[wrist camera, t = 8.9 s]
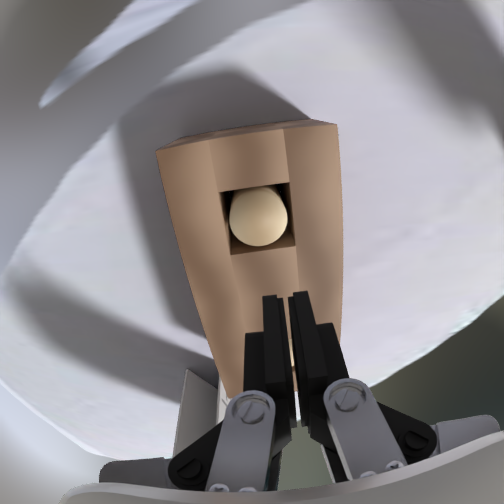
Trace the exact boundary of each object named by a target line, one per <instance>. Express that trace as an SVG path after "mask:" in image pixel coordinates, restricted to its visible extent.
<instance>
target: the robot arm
mask: <svg viewBox="0 0 504 504" xmlns="http://www.w3.org/2000/svg"><path fill="white" fill-rule="evenodd" d="M262 305H263V331H260V332H251V333H245V346H244V377H243V392H242V393H239V394H238V395H236V396H235V397H233V398H232V400H231V401H230V402H229V404H228V406H227V408H226V412H225V416H224V419H223V420H222V421H221V422H220V423H218V424H217V425H216V426H215V427H213V428H212V429H211V430H209V431H208V432H207V433H205V434H204V435H203V436H202V437H200V438H199V439H198V440H196V441H195V442H193V443H192V444H191V445H189V446H188V447H187V448H185V449H184V450H182V451H181V452H180V453H178V454H177V455H176V456H175V457H174V458H170V459H165V458H164V457H160V458H151V459H139V460H125V461H113V462H109V463H107V464H106V465H104V466H103V468H102V469H101V471H100V475H99V483H92V484H86V485H81V486H78V487H75V488H73V489H71V490H69V491H68V492H67V493H66V494H65V495H64V496H63V497H62V499H61V500H60V502H59V504H504V431H500V428H499V425H498V422H497V421H496V420H495V419H494V418H493V417H491V416H489V415H481V416H475V417H470V418H465V419H459V420H453V421H445V422H438V423H437V424H436V425H433V426H429V425H427V424H426V423H424V422H421V421H419V420H417V419H414V418H412V417H410V416H407V415H405V414H403V413H401V412H398V411H396V410H394V409H392V408H389V407H387V406H385V405H383V404H381V403H379V402H377V401H376V400H375V398H374V396H373V394H372V392H371V391H370V389H369V388H368V386H367V385H366V384H365V383H363V382H362V381H360V380H357V379H352V378H349V375H348V371H347V368H346V365H345V361H344V358H343V354H342V351H341V347H340V344H339V341H338V337H337V334H336V331H335V328H334V325H333V323H332V322H330V323H323V324H316V322H315V317H314V313H313V309H312V305H311V302H310V298H309V294H308V291H307V290H306V291H299V292H293V296H291V297H288V307H289V317H290V329H291V340H292V351H293V359H294V367H295V375H296V383H297V391H298V399H299V407H300V416H301V424H302V427H304V426H308V433H309V434H310V437H311V438H312V439H314V440H316V441H317V442H319V443H320V445H321V449H322V451H323V455H324V458H325V461H326V464H327V467H328V470H329V473H330V476H331V479H332V482H333V484H329V485H323V486H317V487H310V488H301V489H292V490H282V491H278V484H279V475H280V469H281V460H282V453H283V448H284V447H285V446H286V445H287V444H288V443H289V442H290V441H291V440H292V439H291V428H295V427H297V421H296V407H295V393H294V381H293V372H292V363H291V355H290V347H289V339H288V331H287V324H286V316H285V309H284V301H283V298H277V294H275V295H267V296H262Z"/></svg>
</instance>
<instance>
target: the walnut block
mask: <svg viewBox="0 0 504 504" xmlns="http://www.w3.org/2000/svg"><path fill="white" fill-rule="evenodd" d="M155 152H156V156H157V161H158V165H159V170H160V174H161V179H162V183H163V187H164V191H165V196H166V200H167V204H168V208H169V212H170V216H171V219H172V223H173V227H174V231H175V235H176V238H177V242H178V246H179V249H180V253H181V257H182V260H183V264H184V267H185V270H186V274H187V277H188V281H189V284H190V287H191V291H192V294H193V297H194V300H195V304H196V307H197V310H198V313H199V316H200V319H201V323H202V326H203V329H204V332H205V335H206V338H207V341H208V344H209V347H210V350H211V352H212V355H213V358H214V361H215V364H216V367H217V370H218V372H219V375H220V378H221V381H222V383H223V386H224V389H225V392H226V394H227V397H228V399H231V398H233V397H235V396H236V395H238V394H239V393H242V392H243V377H244V346H245V333H251V332H260V331H263V305H262V296H267V295H275V294H277V298H283V301H284V309H285V316H286V324H287V331H288V339H291V329H290V317H289V307H288V297H291V296H293V292H299V291H306V290H307V291H308V294H309V298H310V302H311V305H312V309H313V313H314V317H315V322H316V324H323V323H330V322H332V323H333V325H334V328H335V331H336V334H337V337H338V341H339V344H340V335H341V318H342V293H343V209H342V184H341V167H340V152H339V140H338V128H337V124H333V123H328V122H323V121H319V120H314V119H305V120H294V121H284V122H275V123H267V124H259V125H252V126H245V127H238V128H232V129H226V130H220V131H214V132H209V133H203V134H198V135H193V136H188V137H183V138H179V139H177V140H175V141H174V142H172V143H170V144H168V145H166V146H164V147H162V148H160V149H158V150H157V151H155ZM278 183H280V190H281V198H282V201H283V204H284V207H285V209H286V212H287V225H286V228H285V230H284V232H283V234H282V235H281V236H280V237H279V238H278V239H277V240H276V241H274V242H273V243H270V244H268V245H264V246H252V245H248V244H246V243H244V242H242V241H240V240H239V239H238V238H237V237H236V236H235V235H234V233H233V231H232V229H231V226H230V210H231V199H230V193H229V191H230V190H236V189H243V188H249V187H256V186H264V185H271V184H278ZM292 372H293V381H294V392H295V391H297V383H296V375H295V367H294V366H292Z"/></svg>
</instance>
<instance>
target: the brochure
mask: <svg viewBox="0 0 504 504" xmlns="http://www.w3.org/2000/svg"><path fill="white" fill-rule="evenodd" d="M231 400H232V398H231V399H228V397H227V394H226V392H225V389H224V386H223V383H222V381H221V378H220V375H219V384H218V389H216V388H215V387H213V386H212V385H210V384H209V383H207V382H206V381H204V380H203V379H201V378H200V377H198V376H197V375H196V374H194V373H193V372H191V371H190V370H188V369H186V373H185V379H184V385H183V391H182V397H181V403H180V409H179V416H178V422H177V429H176V436H175V443H174V450H173V457H172V458H174V457H175V456H176V455H177V454H178V453H180V452H181V451H182V450H184V449H185V448H187V447H188V446H189V445H191V444H192V443H193V442H195V441H196V440H198V439H199V438H200V437H202V436H203V435H204V434H205V433H207V432H208V431H209V430H211V429H212V428H213V427H215V426H216V425H217V424H218V423H220V422H221V421H222V420H223V419H224V416H225V412H226V408H227V406H228V404H229V402H230V401H231Z"/></svg>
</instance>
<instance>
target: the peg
mask: <svg viewBox="0 0 504 504" xmlns="http://www.w3.org/2000/svg"><path fill="white" fill-rule="evenodd" d="M286 225H287V212H286V209H285V207H284V204H283V201H282V199H281V196H280V194H279V191H278V189H277V186H276V184H271V185H264V186H256V187H249V188H243V189H236V190H233V194H232V202H231V210H230V226H231V229H232V231H233V233H234V235H235V236H236V237H237V238H238V239H239V240H240V241H242V242H244V243H246V244H248V245H252V246H264V245H268V244H270V243H273V242H274V241H276V240H277V239H278V238H279V237H280V236H281V235H282V234H283V232H284V230H285V228H286Z"/></svg>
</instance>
